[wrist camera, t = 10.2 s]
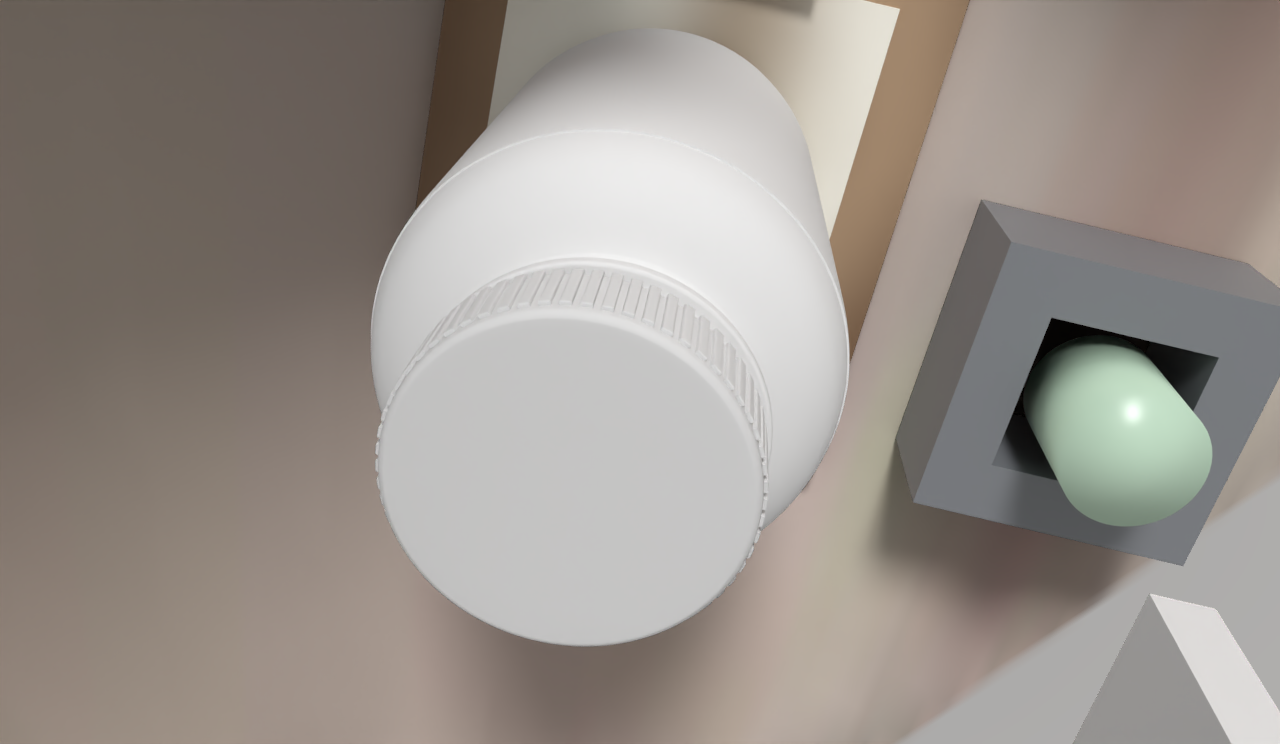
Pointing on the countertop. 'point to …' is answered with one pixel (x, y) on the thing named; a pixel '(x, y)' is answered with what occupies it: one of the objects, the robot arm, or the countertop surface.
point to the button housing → (1096, 297)
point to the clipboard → (779, 48)
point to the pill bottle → (609, 344)
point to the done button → (1116, 431)
